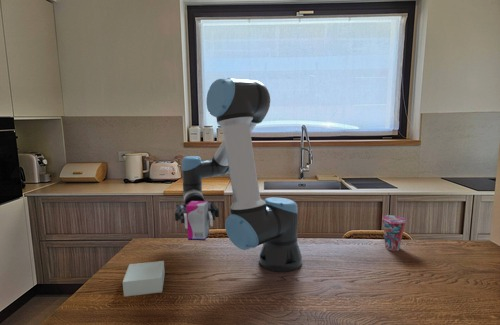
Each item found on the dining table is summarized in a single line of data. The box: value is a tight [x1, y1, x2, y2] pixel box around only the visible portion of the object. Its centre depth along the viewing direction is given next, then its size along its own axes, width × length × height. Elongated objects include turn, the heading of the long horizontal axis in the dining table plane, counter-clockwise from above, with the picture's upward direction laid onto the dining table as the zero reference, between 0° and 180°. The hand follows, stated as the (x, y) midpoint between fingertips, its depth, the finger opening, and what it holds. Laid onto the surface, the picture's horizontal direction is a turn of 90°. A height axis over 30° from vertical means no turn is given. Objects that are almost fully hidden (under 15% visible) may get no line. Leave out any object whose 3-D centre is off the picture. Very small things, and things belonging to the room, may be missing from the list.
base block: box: [122, 260, 166, 297], centre depth 100 cm, size 11×11×5 cm
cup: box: [382, 214, 407, 252], centre depth 122 cm, size 9×8×12 cm
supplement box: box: [186, 200, 210, 241], centre depth 102 cm, size 6×6×12 cm
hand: (199, 223), depth 98 cm, fingers closed on supplement box, 7 cm apart
